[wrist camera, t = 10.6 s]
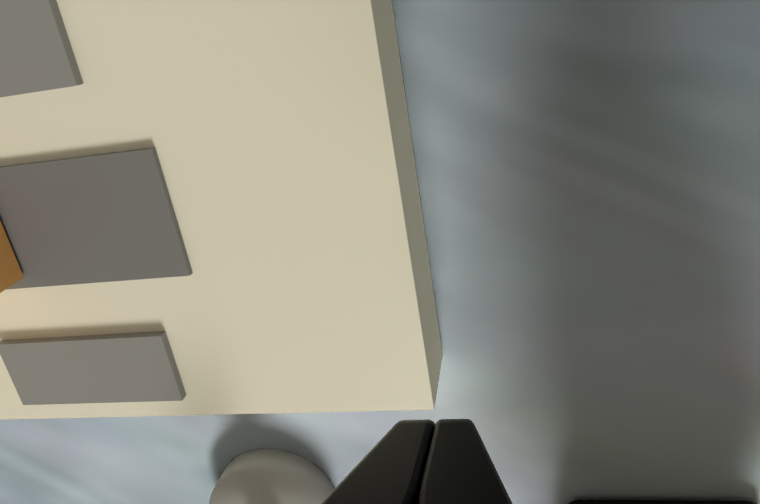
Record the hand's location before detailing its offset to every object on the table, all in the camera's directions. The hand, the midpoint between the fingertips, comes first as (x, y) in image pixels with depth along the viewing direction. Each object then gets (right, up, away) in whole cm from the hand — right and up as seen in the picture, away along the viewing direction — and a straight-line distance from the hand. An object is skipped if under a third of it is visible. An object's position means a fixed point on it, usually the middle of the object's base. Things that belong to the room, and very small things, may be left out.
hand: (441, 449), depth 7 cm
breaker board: (-10, +4, +15) cm, 18 cm away
